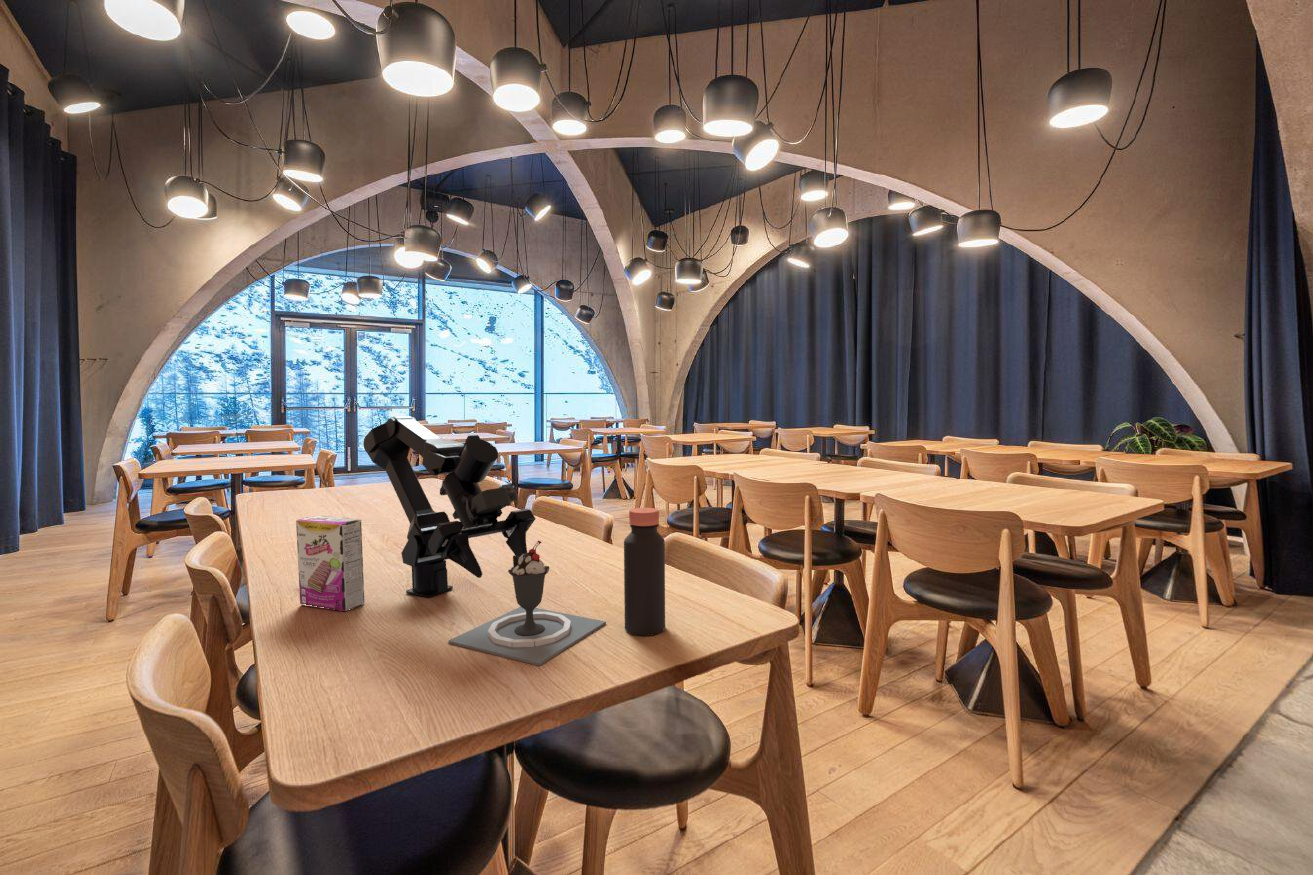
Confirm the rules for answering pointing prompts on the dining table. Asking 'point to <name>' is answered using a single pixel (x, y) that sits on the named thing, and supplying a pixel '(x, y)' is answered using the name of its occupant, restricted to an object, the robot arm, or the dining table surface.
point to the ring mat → (532, 648)
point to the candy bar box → (330, 562)
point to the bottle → (644, 574)
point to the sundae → (529, 588)
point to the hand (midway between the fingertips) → (504, 570)
